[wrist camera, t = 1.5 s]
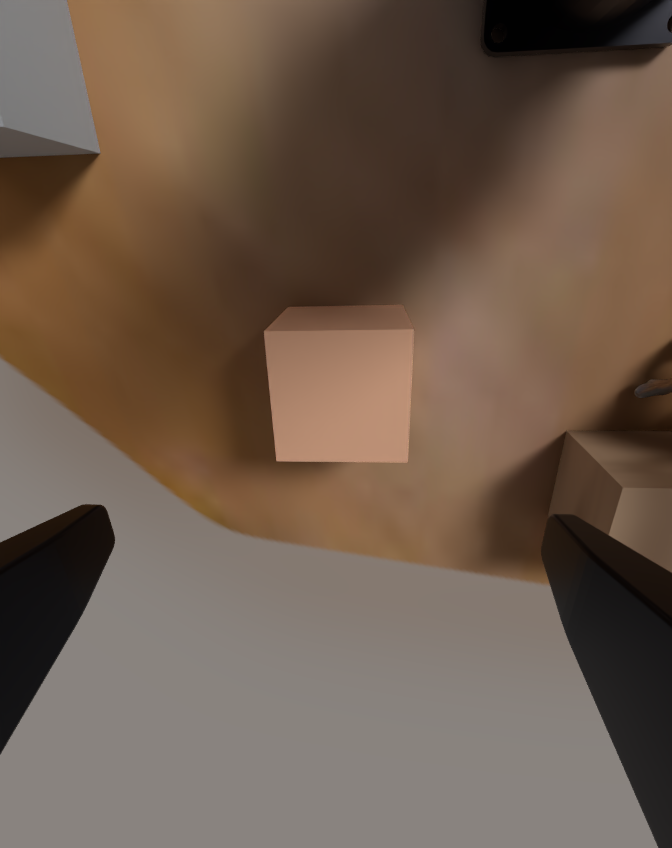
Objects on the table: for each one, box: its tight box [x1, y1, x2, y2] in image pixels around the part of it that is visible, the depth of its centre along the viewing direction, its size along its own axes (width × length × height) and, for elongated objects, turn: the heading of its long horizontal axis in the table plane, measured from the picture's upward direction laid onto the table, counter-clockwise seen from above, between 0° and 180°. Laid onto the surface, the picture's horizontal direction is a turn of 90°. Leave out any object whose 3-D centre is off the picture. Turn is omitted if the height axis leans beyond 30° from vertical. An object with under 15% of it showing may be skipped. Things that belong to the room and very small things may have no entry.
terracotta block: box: [264, 305, 414, 462], centre depth 17 cm, size 5×5×5 cm
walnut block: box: [548, 431, 672, 573], centre depth 19 cm, size 5×5×5 cm
